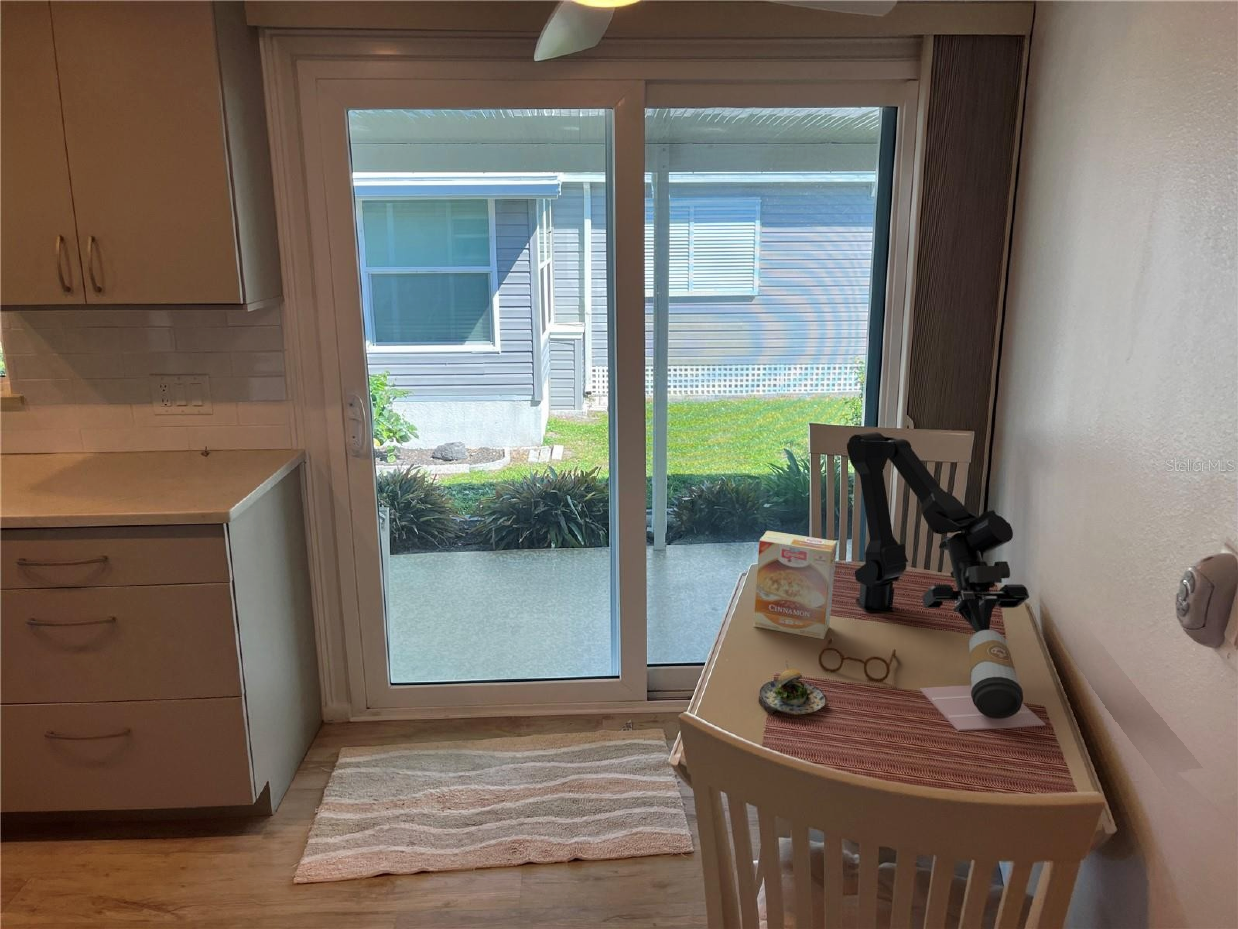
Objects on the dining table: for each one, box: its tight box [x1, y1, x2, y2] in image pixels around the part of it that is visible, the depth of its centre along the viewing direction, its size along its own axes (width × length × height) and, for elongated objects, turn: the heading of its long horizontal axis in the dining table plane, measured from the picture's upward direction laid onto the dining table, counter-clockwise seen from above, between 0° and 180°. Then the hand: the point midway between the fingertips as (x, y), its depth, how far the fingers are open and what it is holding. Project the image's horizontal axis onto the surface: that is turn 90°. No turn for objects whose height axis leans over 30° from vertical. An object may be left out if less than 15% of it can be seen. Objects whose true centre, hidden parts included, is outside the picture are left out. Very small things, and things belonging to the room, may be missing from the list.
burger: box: [758, 659, 828, 715], centre depth 158 cm, size 12×12×8 cm
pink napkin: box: [919, 684, 1046, 732], centre depth 159 cm, size 16×14×1 cm
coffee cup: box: [968, 629, 1024, 719], centre depth 159 cm, size 8×8×15 cm
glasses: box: [818, 637, 897, 683], centre depth 174 cm, size 13×13×5 cm
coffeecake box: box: [753, 530, 838, 640], centre depth 187 cm, size 15×7×20 cm, turn 68°
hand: (985, 639), depth 168 cm, fingers closed
